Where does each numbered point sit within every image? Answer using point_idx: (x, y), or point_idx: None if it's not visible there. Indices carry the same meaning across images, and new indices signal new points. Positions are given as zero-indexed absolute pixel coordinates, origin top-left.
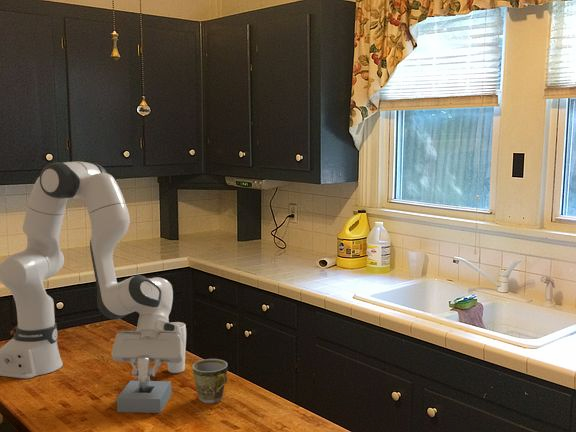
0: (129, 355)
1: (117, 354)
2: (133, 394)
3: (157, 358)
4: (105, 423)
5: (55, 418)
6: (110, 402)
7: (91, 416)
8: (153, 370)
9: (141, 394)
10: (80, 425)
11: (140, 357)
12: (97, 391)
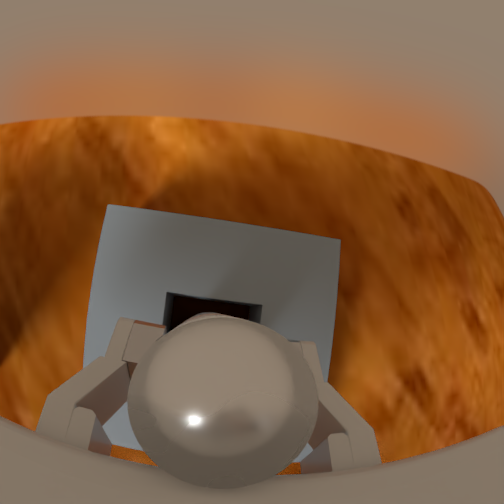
0: (415, 469)
1: (498, 444)
2: (262, 277)
3: (53, 440)
4: (330, 163)
5: (468, 226)
6: (360, 347)
7: (391, 225)
8: (113, 339)
9: (215, 274)
10: (398, 165)
11: (272, 416)
12: (413, 433)
